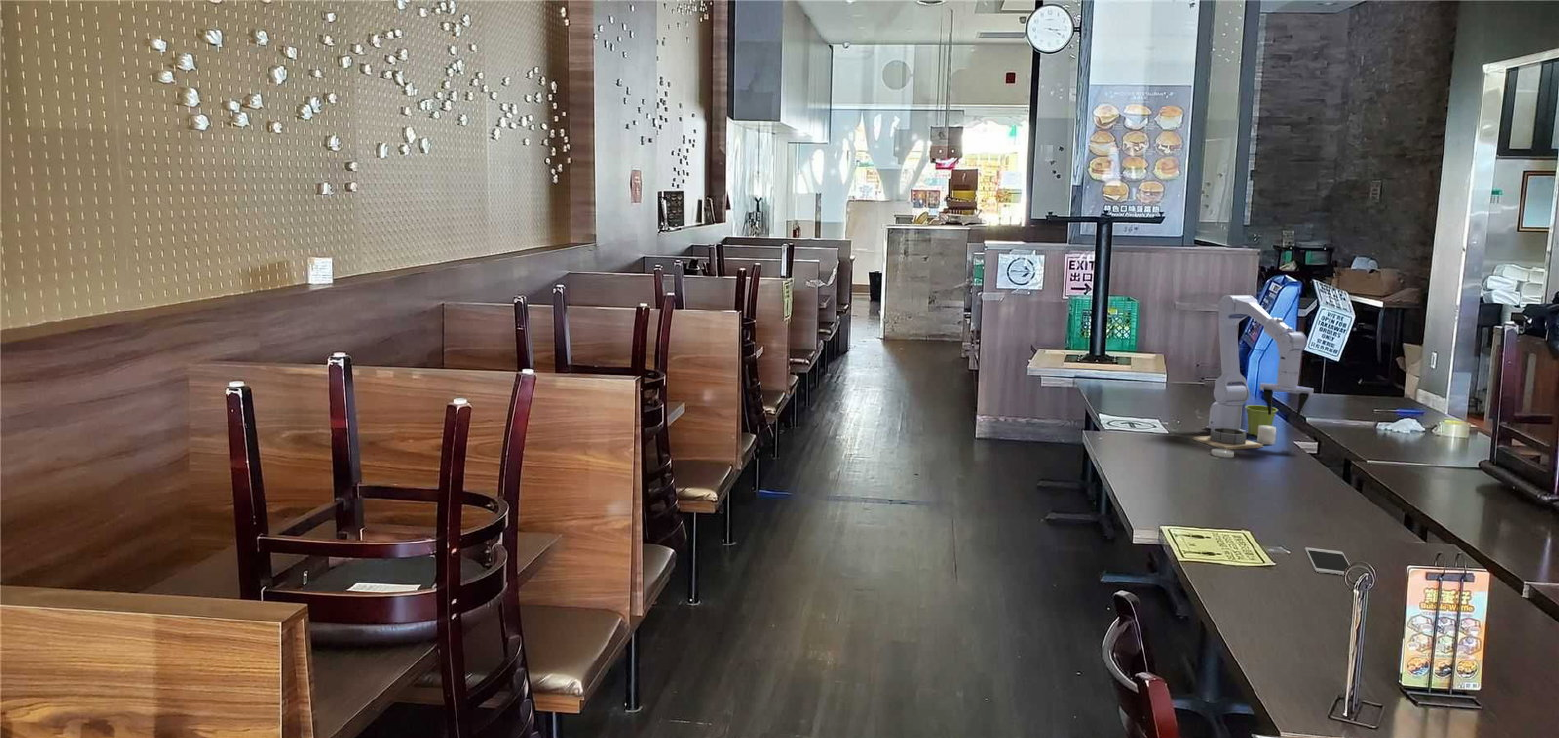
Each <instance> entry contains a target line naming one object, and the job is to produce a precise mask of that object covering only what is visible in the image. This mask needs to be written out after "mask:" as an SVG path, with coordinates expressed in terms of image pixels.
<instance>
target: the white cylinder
mask: <svg viewBox="0 0 1559 738" xmlns="http://www.w3.org/2000/svg"><path fill="white" fill-rule="evenodd" d="M1276 433H1277V427H1276V426H1273V425H1272V426H1266V425H1260V426H1258V436H1257V437H1256V443H1259V444H1262V445H1267V446H1270V445H1272V446H1273V445H1276V444H1275V443H1276Z"/></svg>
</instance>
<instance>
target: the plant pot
mask: <svg viewBox="0 0 1559 738" xmlns="http://www.w3.org/2000/svg"><path fill="white" fill-rule="evenodd" d="M1245 409H1246V413H1247V426H1248V429H1247V430H1248V431H1247V434H1249V435H1254V436H1255V437H1256V436H1258V426H1260V425H1266V426H1273V421H1274V418H1275V416H1276V415H1277V412H1278V411H1279V409H1277V408H1276V407H1272V409H1271V415H1268V407H1267V405H1260V404H1259V405H1254V404H1253V405H1251V404H1250V405H1249V404H1248V405H1246V406H1245Z"/></svg>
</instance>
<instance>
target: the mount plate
mask: <svg viewBox="0 0 1559 738" xmlns="http://www.w3.org/2000/svg"><path fill="white" fill-rule="evenodd" d="M1192 439H1193V440H1194V441H1197V442H1200V443H1203V444H1207V445H1209V446H1212V447H1216V448H1218V449H1227V450H1231V451H1233V450H1245V449H1246V450H1247V449H1256V448H1257V449H1258V448H1264V444H1260V443H1258V442H1255V441H1251V440H1248V439H1246V444H1240V445H1231V444H1222V443H1218V442H1214V441H1211V440H1210V435H1208V436H1207V435H1205V436H1202V435H1201V436H1193V438H1192Z"/></svg>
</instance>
